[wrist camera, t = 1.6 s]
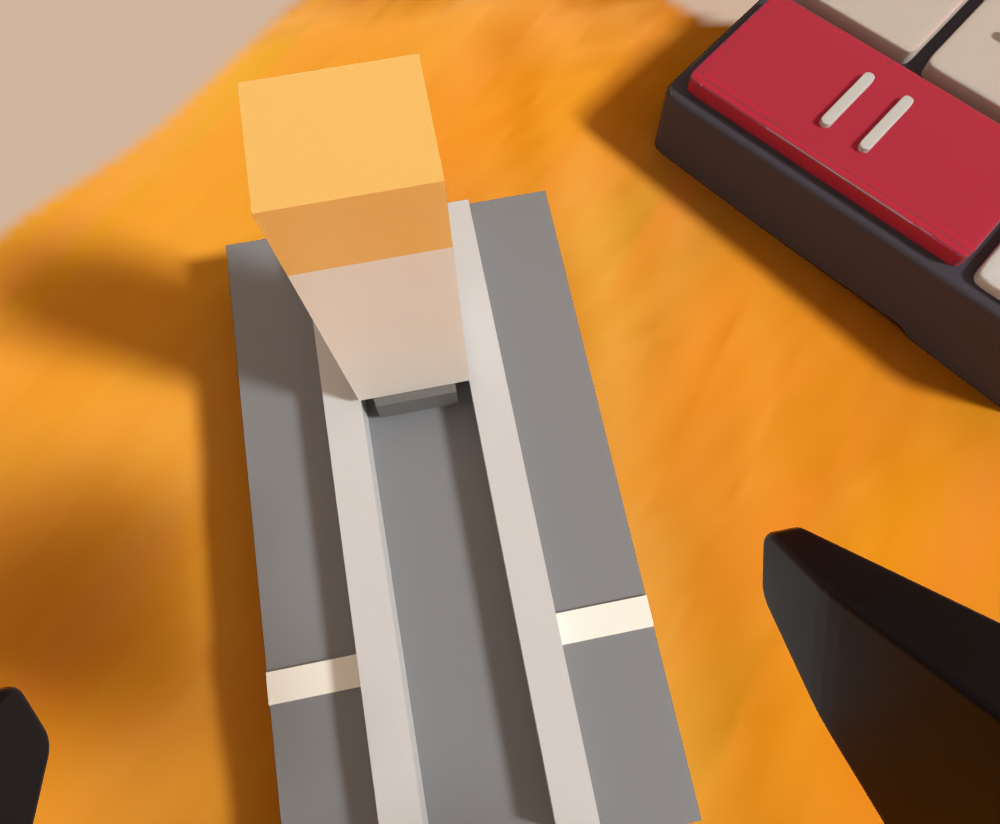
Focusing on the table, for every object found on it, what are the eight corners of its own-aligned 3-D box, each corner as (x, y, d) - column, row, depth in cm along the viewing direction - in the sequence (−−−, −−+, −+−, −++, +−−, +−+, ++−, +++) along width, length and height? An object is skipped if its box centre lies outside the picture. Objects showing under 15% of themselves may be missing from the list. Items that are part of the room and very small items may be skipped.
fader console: (682, 804, 20) (712, 829, 17) (310, 886, 20) (277, 926, 17) (541, 225, 25) (546, 171, 23) (247, 276, 25) (213, 228, 22)
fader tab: (472, 400, 21) (447, 194, 12) (367, 420, 21) (252, 228, 11) (453, 305, 22) (416, 41, 12) (352, 323, 22) (235, 70, 12)
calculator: (869, -119, 26) (1310, 114, 22) (823, -11, 30) (1188, 202, 26) (664, 72, 23) (1118, 372, 19) (645, 161, 27) (1017, 425, 23)
